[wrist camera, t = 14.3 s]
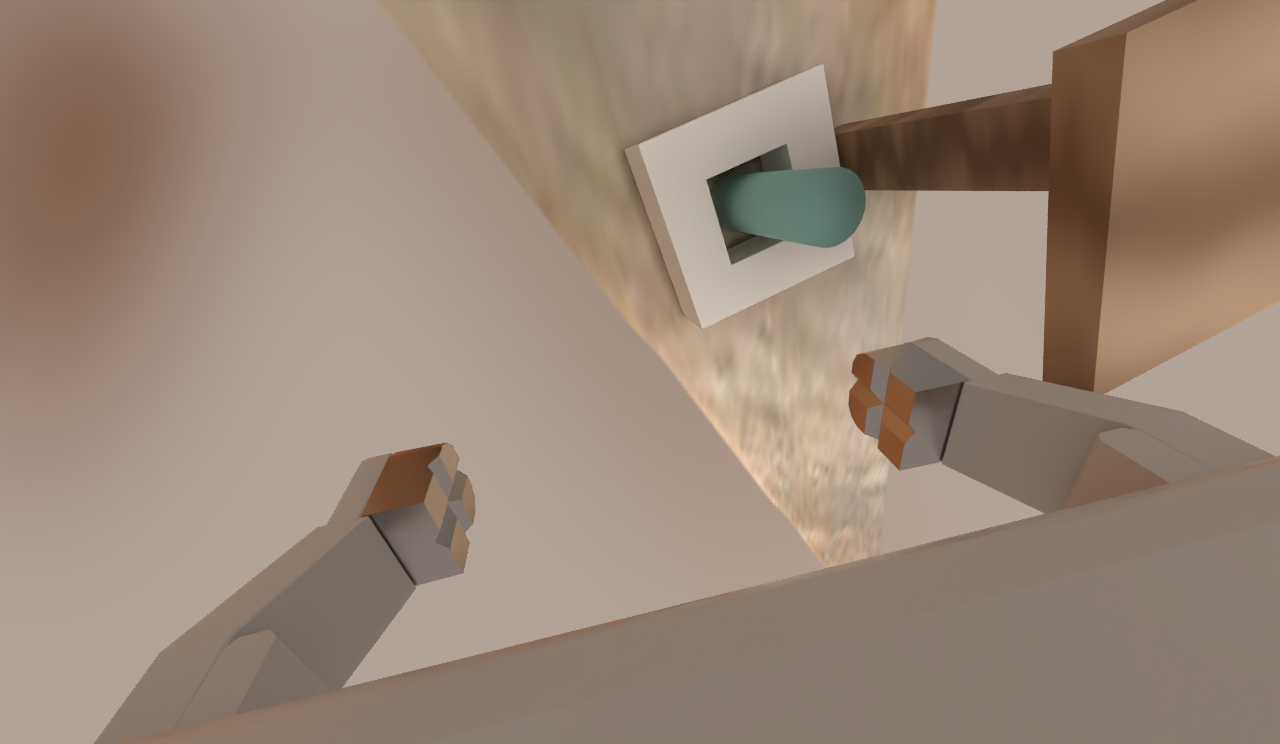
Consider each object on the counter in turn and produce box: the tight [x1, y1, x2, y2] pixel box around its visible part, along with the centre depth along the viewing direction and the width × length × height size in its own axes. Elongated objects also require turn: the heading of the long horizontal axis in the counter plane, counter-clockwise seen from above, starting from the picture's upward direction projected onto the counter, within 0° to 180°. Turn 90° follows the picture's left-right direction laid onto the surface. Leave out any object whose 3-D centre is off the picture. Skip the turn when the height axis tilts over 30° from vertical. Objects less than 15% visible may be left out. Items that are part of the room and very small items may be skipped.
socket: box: [624, 64, 855, 329], centre depth 33 cm, size 13×13×4 cm
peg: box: [710, 167, 866, 248], centre depth 29 cm, size 4×4×12 cm
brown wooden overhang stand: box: [834, 0, 1280, 394], centre depth 24 cm, size 10×11×25 cm
